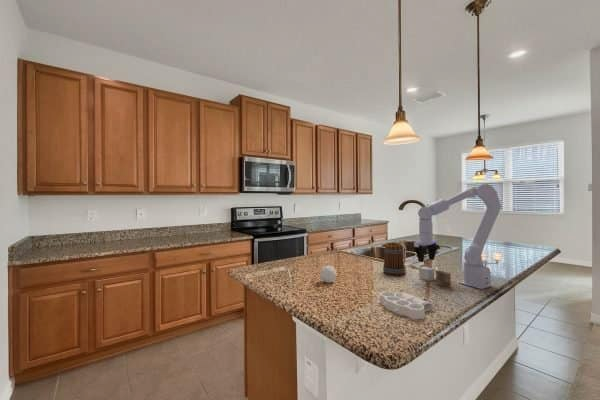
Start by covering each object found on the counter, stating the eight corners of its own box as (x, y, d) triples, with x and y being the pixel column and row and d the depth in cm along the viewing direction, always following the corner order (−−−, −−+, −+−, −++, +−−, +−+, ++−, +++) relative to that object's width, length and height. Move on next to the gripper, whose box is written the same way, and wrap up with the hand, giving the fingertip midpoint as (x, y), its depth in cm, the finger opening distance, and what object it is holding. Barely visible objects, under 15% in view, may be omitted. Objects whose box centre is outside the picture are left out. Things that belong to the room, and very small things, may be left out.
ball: (329, 289, 124) (326, 278, 119) (318, 279, 129) (315, 269, 125) (341, 279, 127) (338, 268, 122) (329, 270, 132) (327, 259, 128)
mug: (401, 277, 131) (401, 246, 131) (380, 274, 137) (379, 244, 137) (410, 269, 143) (409, 241, 143) (390, 267, 150) (389, 240, 150)
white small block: (434, 279, 126) (434, 268, 126) (428, 280, 125) (428, 270, 125) (424, 276, 131) (424, 266, 131) (419, 278, 129) (419, 267, 129)
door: (442, 283, 119) (442, 274, 119) (437, 282, 120) (437, 273, 120) (440, 275, 130) (439, 267, 130) (435, 275, 131) (435, 267, 131)
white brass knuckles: (440, 314, 90) (408, 323, 84) (400, 296, 106) (370, 303, 100) (440, 304, 90) (408, 312, 84) (399, 288, 106) (370, 294, 100)
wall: (451, 287, 114) (451, 273, 114) (448, 288, 113) (448, 274, 113) (438, 284, 119) (438, 270, 119) (435, 284, 118) (435, 271, 118)
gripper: (428, 230, 135) (428, 257, 135) (408, 232, 128) (408, 260, 128) (441, 231, 129) (442, 259, 129) (421, 234, 122) (421, 263, 122)
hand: (426, 260), depth 128 cm, fingers open, 7 cm apart
